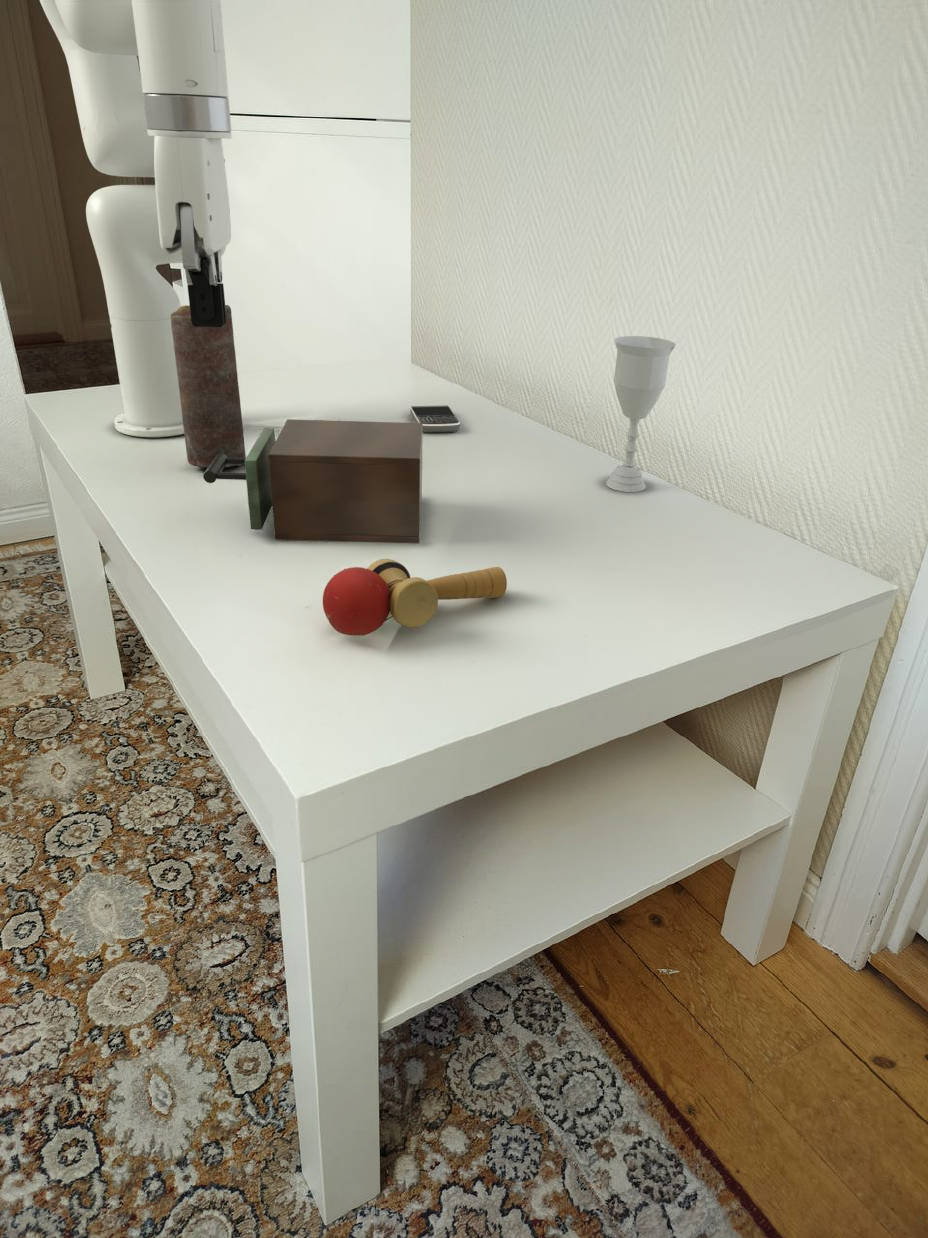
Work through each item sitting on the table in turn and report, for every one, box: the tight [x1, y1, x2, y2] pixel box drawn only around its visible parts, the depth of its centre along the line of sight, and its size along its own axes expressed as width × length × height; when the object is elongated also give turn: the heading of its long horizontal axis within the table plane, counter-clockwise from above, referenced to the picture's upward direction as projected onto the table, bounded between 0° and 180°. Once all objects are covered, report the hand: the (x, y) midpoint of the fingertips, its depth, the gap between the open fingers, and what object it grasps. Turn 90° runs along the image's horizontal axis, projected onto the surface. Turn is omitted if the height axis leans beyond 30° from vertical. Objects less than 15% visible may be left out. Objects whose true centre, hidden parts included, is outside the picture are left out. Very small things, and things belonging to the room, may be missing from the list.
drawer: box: [202, 427, 276, 531], centre depth 99 cm, size 20×11×8 cm, turn 91°
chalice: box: [605, 335, 677, 493], centre depth 110 cm, size 7×7×18 cm
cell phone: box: [409, 404, 461, 433], centre depth 135 cm, size 6×11×1 cm, turn 12°
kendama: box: [322, 558, 508, 637], centre depth 80 cm, size 8×6×18 cm
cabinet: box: [268, 418, 424, 544], centre depth 99 cm, size 16×13×10 cm
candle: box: [170, 304, 247, 469], centre depth 110 cm, size 8×7×20 cm
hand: (209, 324), depth 90 cm, fingers closed
